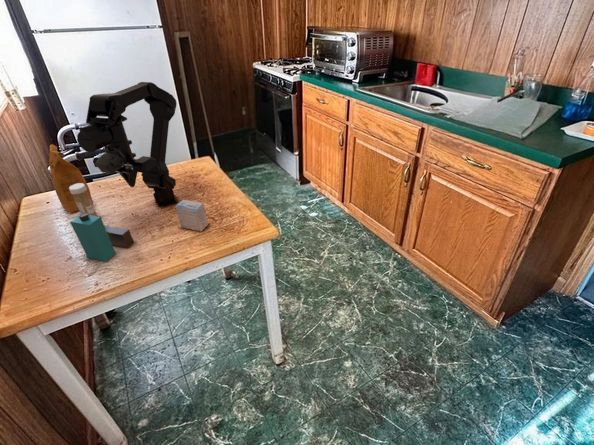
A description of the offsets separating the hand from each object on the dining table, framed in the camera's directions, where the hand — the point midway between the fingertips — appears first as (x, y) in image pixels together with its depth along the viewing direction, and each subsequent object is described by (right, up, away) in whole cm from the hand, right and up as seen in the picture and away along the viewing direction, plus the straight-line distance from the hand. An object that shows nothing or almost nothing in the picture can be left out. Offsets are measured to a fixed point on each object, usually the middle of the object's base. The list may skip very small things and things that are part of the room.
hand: (132, 186), depth 106 cm
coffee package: (-29, -5, +17) cm, 34 cm away
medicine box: (+19, -13, +4) cm, 23 cm away
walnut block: (-3, -18, -3) cm, 18 cm away
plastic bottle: (-4, -19, -6) cm, 20 cm away
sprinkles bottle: (-18, -11, +8) cm, 23 cm away
